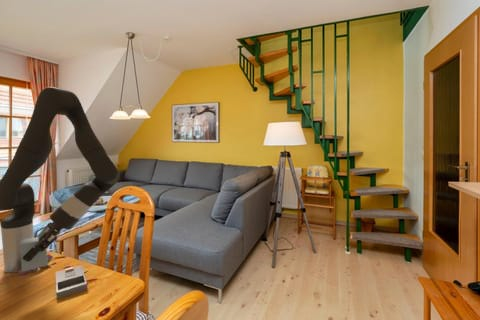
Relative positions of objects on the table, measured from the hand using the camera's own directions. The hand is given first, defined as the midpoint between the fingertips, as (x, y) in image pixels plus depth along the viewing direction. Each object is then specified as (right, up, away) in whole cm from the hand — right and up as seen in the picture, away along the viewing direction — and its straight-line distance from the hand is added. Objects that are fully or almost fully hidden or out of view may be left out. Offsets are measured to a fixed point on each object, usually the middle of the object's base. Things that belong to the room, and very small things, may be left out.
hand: (26, 256), depth 75 cm
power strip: (+8, -14, +8) cm, 18 cm away
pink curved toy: (-12, -13, +19) cm, 26 cm away
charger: (+2, -3, +2) cm, 4 cm away
